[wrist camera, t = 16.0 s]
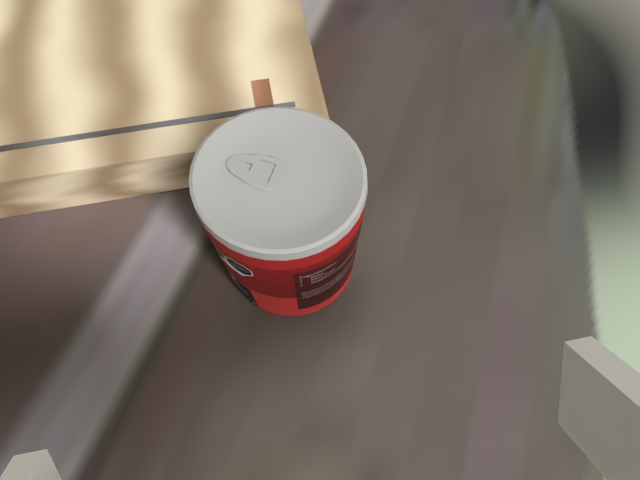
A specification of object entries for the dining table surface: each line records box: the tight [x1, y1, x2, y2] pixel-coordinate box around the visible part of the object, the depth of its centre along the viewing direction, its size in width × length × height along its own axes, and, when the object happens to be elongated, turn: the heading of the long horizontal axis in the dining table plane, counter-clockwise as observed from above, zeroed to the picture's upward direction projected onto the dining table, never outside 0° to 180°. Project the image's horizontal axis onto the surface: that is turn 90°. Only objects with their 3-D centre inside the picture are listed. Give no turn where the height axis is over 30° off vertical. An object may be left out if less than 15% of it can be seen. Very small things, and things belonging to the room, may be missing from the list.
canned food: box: [189, 107, 368, 316], centre depth 24 cm, size 8×8×11 cm
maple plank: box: [0, 0, 329, 218], centre depth 34 cm, size 28×20×4 cm
